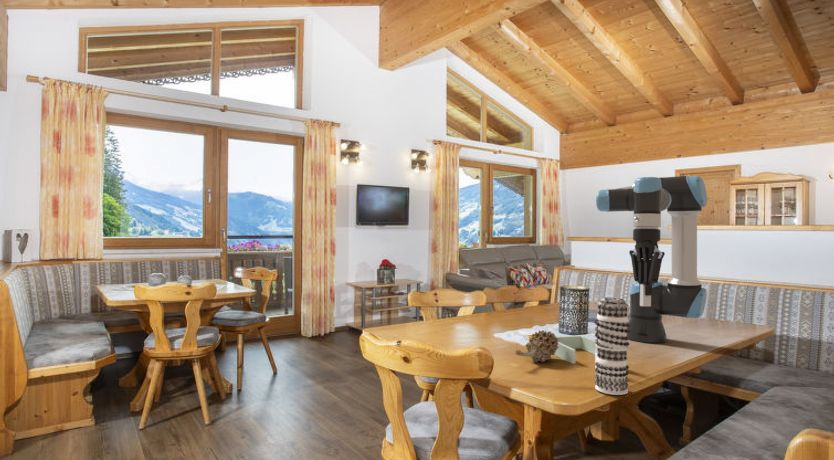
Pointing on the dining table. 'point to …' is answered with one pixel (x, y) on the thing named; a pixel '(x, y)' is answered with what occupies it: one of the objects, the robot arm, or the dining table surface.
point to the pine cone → (540, 346)
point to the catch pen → (573, 346)
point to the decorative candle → (612, 346)
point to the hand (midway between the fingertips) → (645, 305)
